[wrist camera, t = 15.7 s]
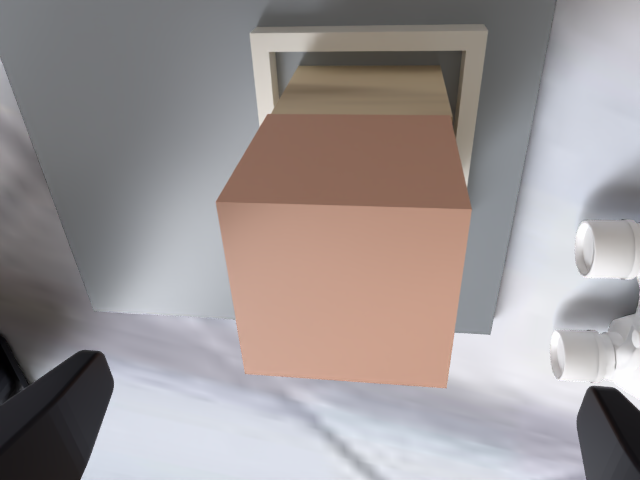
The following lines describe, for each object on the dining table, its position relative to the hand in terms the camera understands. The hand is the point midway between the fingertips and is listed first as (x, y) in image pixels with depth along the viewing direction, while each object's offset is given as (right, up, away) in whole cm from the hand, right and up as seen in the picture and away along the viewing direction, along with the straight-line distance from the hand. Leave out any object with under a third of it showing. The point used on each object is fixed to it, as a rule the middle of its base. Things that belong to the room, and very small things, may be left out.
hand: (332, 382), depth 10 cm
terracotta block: (+1, +4, +6) cm, 7 cm away
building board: (-2, +7, +11) cm, 14 cm away
